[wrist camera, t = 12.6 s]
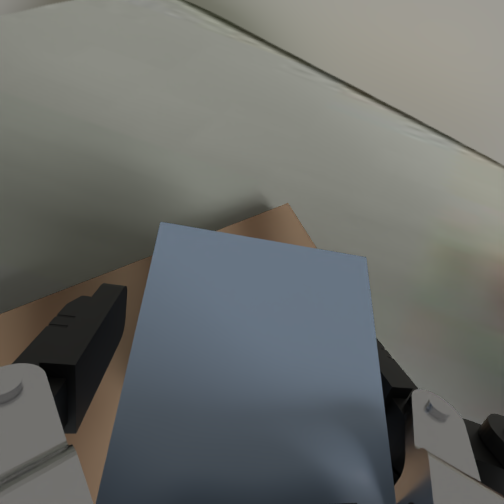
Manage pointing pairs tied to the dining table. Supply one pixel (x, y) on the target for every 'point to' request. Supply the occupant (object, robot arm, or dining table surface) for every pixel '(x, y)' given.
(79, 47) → the dining table surface
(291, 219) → the post plate
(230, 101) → the dining table surface
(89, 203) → the dining table surface
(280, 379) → the block
